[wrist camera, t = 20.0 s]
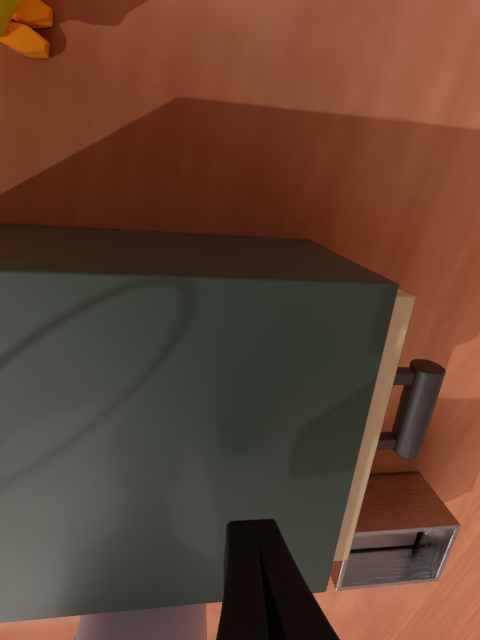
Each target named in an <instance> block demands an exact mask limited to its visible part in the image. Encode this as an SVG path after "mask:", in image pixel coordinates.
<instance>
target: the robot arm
mask: <svg viewBox="0 0 480 640" xmlns="http://www.w3.org/2000/svg"><path fill="white" fill-rule="evenodd" d="M223 573H224V593H223V603H222V610H221V616H220V622H219V627H218V633H217V638H216V640H340V639H339V638H338V636H337V634H336V633H335V631H334V630H333V628H332V626H331V625H330V623H329V621H328V620H327V618H326V616H325V615H324V613H323V611H322V610H321V608H320V606H319V605H318V603H317V601H316V599H315V598H314V596H313V594H312V592H311V590H310V589H309V587H308V585H307V583H306V582H305V580H304V578H303V576H302V574H301V572H300V570H299V569H298V567H297V565H296V563H295V561H294V559H293V557H292V555H291V553H290V551H289V549H288V547H287V545H286V542H285V540H284V538H283V536H282V534H281V532H280V529H279V527H278V525H277V522H276V521H275V520H274V519H273V518H272V519H255V520H237V521H230V522H229V523H227V526H226V539H225V551H224V564H223ZM74 640H207V619H206V603H204V604H193V605H182V606H172V607H161V608H151V609H140V610H130V611H119V612H109V613H98V614H88V615H80V618H79V622H78V626H77V630H76V634H75V637H74Z"/></svg>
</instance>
